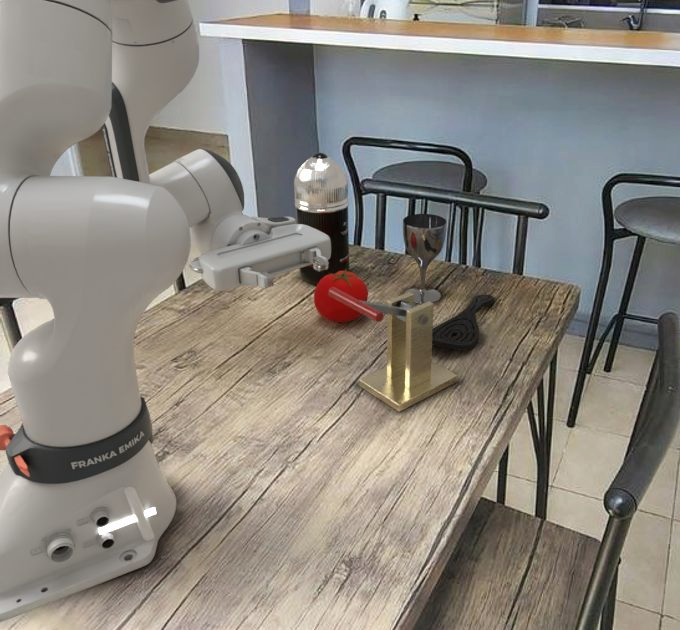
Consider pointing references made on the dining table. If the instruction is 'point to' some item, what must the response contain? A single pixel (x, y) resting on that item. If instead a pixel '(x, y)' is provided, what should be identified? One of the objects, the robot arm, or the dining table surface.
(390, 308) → the lever
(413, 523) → the dining table surface
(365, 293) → the tomato
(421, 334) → the bracket
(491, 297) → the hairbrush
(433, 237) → the metal goblet
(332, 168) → the black silver domed canister
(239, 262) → the robot arm
